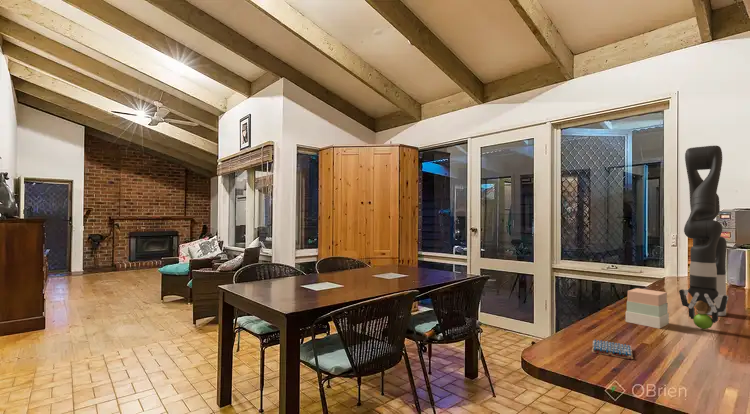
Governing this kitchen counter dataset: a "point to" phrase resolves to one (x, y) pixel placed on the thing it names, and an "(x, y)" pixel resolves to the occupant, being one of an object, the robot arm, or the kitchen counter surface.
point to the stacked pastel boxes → (647, 308)
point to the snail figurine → (702, 315)
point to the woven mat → (612, 349)
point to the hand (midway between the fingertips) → (703, 320)
